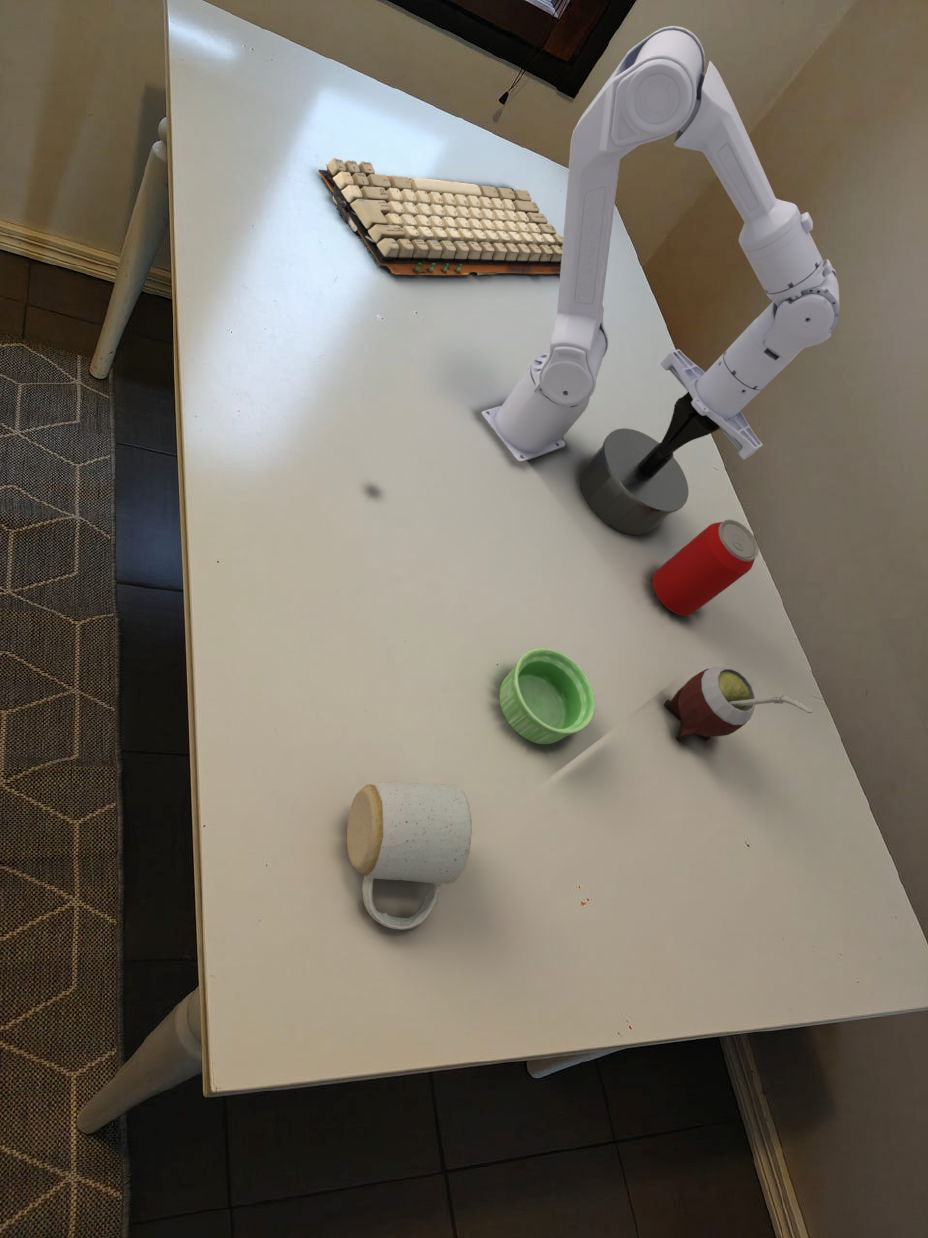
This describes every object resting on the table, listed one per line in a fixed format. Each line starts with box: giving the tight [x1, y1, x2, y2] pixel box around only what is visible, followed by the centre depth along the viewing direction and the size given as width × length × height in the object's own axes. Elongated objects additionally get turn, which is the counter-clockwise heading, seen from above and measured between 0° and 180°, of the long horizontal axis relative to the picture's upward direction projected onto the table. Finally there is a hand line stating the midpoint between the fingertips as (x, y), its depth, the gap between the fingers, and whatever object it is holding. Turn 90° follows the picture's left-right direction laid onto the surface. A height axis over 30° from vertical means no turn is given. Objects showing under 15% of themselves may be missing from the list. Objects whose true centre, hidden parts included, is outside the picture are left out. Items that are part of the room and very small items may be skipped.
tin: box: [579, 445, 671, 536], centre depth 107 cm, size 12×12×5 cm
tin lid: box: [601, 428, 690, 514], centre depth 103 cm, size 13×13×5 cm
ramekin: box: [499, 647, 596, 745], centre depth 83 cm, size 9×9×4 cm
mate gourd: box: [663, 666, 814, 743], centre depth 88 cm, size 8×8×15 cm
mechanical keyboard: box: [317, 157, 563, 277], centre depth 121 cm, size 38×19×3 cm, turn 125°
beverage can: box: [652, 519, 759, 616], centre depth 99 cm, size 7×7×12 cm
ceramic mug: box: [346, 781, 473, 931], centre depth 66 cm, size 11×8×8 cm
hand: (664, 451), depth 102 cm, fingers closed, pressing on tin lid
